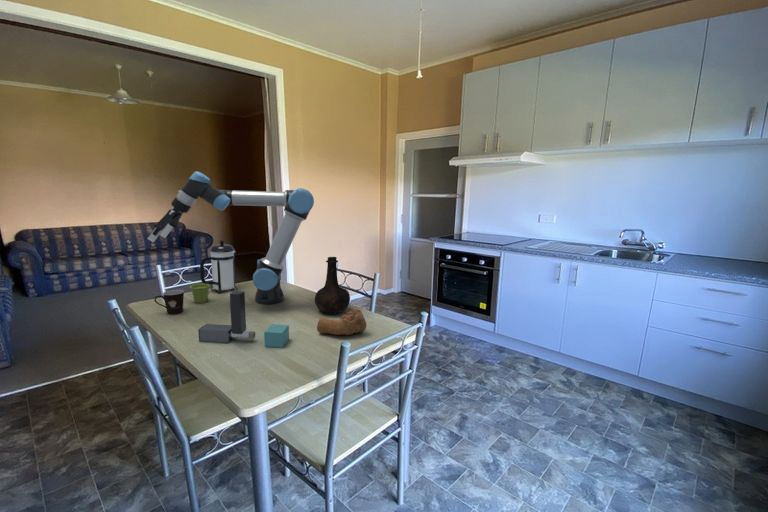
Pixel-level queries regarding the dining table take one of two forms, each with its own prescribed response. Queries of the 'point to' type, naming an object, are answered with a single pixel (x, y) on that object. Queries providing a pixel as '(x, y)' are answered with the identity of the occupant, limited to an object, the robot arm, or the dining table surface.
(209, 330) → the outer sleeve
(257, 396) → the dining table surface
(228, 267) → the coffee press
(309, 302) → the dining table surface
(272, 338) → the socket block
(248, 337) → the dark lever handle
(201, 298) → the plant pot
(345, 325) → the clay pipe
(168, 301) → the coffee mug
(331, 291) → the glass bottle
